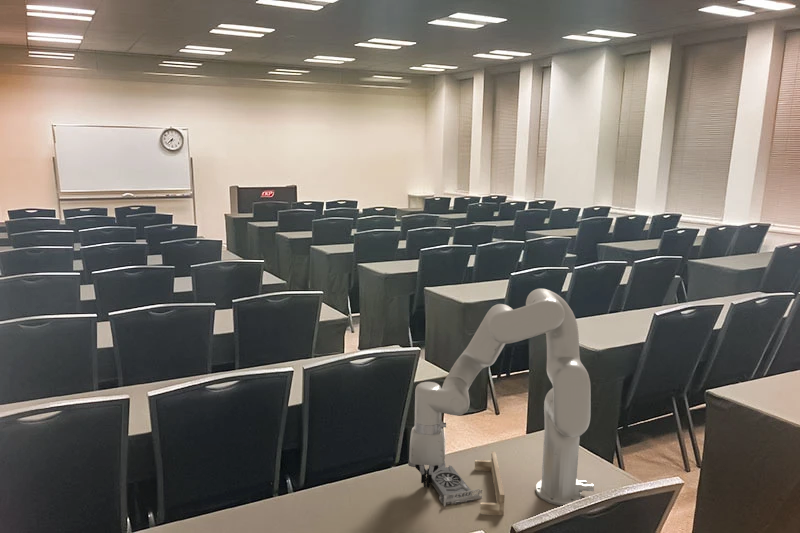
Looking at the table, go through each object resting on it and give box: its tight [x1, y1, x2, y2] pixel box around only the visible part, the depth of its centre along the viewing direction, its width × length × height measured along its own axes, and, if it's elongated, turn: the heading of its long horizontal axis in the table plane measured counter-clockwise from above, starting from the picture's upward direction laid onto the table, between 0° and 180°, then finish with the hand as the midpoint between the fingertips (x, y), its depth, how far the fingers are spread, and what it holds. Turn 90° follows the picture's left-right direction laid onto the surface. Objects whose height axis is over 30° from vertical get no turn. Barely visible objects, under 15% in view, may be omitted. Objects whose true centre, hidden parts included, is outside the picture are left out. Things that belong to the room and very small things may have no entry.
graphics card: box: [426, 465, 483, 508], centre depth 164 cm, size 17×4×12 cm
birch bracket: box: [474, 451, 505, 516], centre depth 162 cm, size 6×23×6 cm, turn 176°
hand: (426, 484), depth 164 cm, fingers closed
